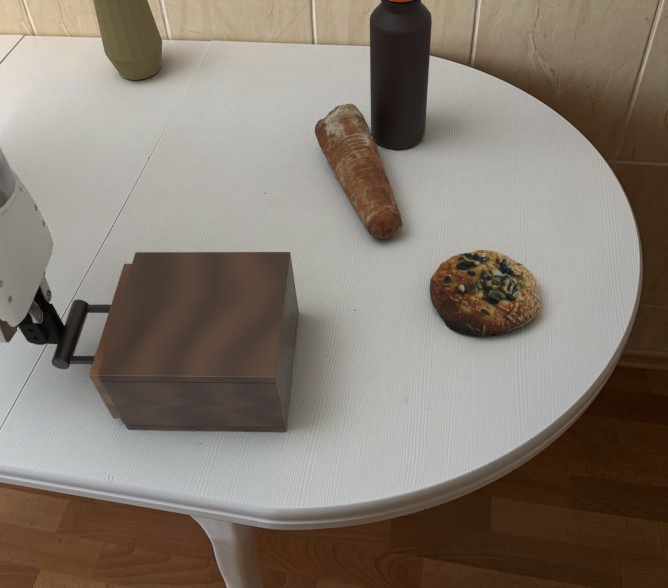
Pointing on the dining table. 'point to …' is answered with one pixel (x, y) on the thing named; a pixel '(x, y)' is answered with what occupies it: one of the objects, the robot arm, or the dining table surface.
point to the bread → (359, 169)
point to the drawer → (73, 331)
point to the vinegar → (399, 72)
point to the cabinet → (204, 342)
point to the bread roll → (484, 293)
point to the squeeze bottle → (130, 37)
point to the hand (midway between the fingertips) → (47, 336)
